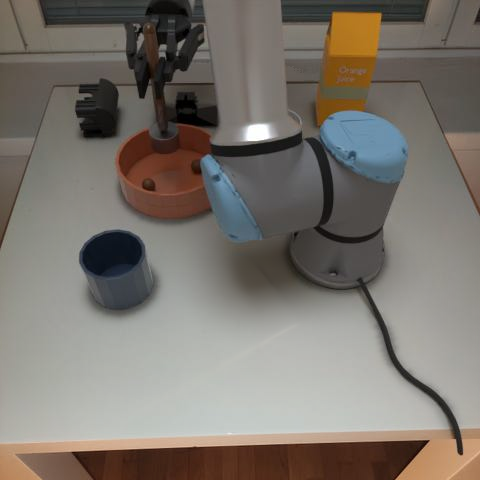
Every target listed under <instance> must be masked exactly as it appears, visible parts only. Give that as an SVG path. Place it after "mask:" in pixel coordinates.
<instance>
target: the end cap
mask: <svg viewBox="0 0 480 480" xmlns="http://www.w3.org/2000/svg"><path fill="white" fill-rule="evenodd" d="M77 92H78V94H79V95H80V94H83V95H84V94H88V95H91V96H84V97H83V99H76V102H75V105H74V112H75V115H76V118H77V119H84V120H82V122H79V123H78V125H79V128H80V131H82V135H83V137H84V138H102V137H106V136H108V135H109V134H111V133H112V132H113V131H114V129H115V127H116V121H117V114H118V107H119V106H118V105H119V99H120V97H119V96H120V95H119V90H118V88H117V86H116V85H115V83H113V82H112V81H111V80H109V79H106V78H102V77H100V78H99V82H98V83H79V87H78V91H77Z"/></svg>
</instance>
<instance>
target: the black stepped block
mask: <svg viewBox="0 0 480 480" xmlns="http://www.w3.org/2000/svg"><path fill="white" fill-rule="evenodd" d="M198 103H199V100H198V96H196V91H177V92H176V98H175V104H166V111H167V119H168V122H172V123H174V124H187V125H193V126H196V127H199V128H202V127H203V128H217V127H218V110H217V104H198Z"/></svg>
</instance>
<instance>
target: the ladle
mask: <svg viewBox="0 0 480 480" xmlns="http://www.w3.org/2000/svg"><path fill="white" fill-rule="evenodd" d="M142 35H143V41H144V42H145V48H146V55H147V61H148V68H149V74H150V80H149V81H150V85H151V93H152V100H153V105H154V113H155V120H156V122H154V123H153V124H152V125H150V126H149V127H150V128H149V127H148V128H149V136H150V142H151V147H152V149H153V150H154V151H155V152H156V153H159V154H171V153H174V152H175V151H177V150H178V149H179V147H180V138H179V129H178V127H177V125H176V124H174V123H172V122H168V119H167V111H166V105H167V103H166V97H165V90H164V91H163V95H162V99H156V94H155V88H154V78H155V74H156V71H157V67H158V63H159V60H160V52H159V50H158V44H157V36H156V29H155V27H154V26H153V25H152V24H150V23H147V24H145V25H144V27H143V34H142Z"/></svg>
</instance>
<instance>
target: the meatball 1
mask: <svg viewBox="0 0 480 480" xmlns="http://www.w3.org/2000/svg"><path fill="white" fill-rule="evenodd" d="M142 188H143V189H145V190H147V191H153V190H154V189H155V182H154V181H153V180H152V179H150V178H146V179H144V180H143V181H142Z"/></svg>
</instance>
